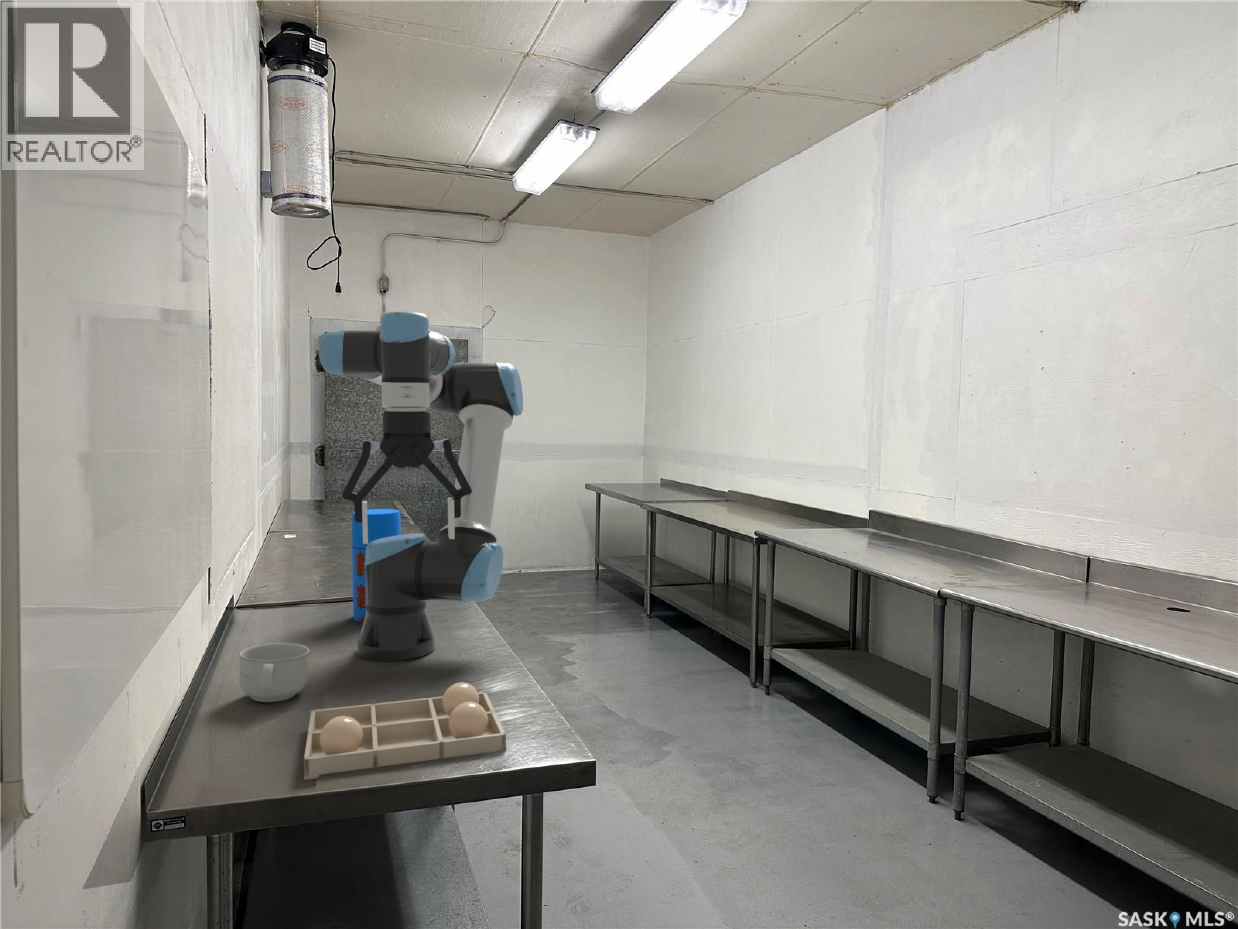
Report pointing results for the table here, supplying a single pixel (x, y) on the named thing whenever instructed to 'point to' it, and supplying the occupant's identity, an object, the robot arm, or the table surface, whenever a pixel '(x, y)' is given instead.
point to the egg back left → (459, 696)
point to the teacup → (273, 671)
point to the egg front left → (468, 720)
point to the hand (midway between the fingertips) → (409, 540)
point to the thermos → (378, 527)
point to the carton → (398, 735)
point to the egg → (341, 735)
